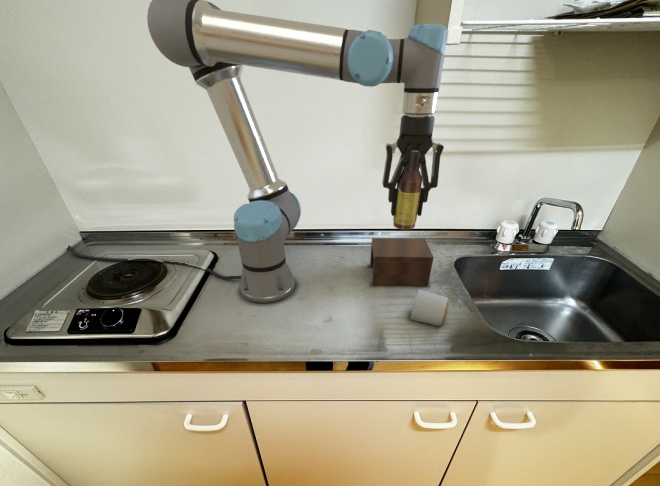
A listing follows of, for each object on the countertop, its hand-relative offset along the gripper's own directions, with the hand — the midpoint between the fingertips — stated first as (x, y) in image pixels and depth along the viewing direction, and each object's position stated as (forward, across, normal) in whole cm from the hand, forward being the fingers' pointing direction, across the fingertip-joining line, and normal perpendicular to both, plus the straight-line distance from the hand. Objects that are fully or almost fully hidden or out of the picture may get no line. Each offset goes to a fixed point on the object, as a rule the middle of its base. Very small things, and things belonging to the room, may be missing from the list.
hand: (405, 213), depth 85 cm
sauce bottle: (+4, 0, 0) cm, 4 cm away
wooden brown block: (+19, 0, 0) cm, 19 cm away
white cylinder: (+20, +5, -20) cm, 28 cm away
